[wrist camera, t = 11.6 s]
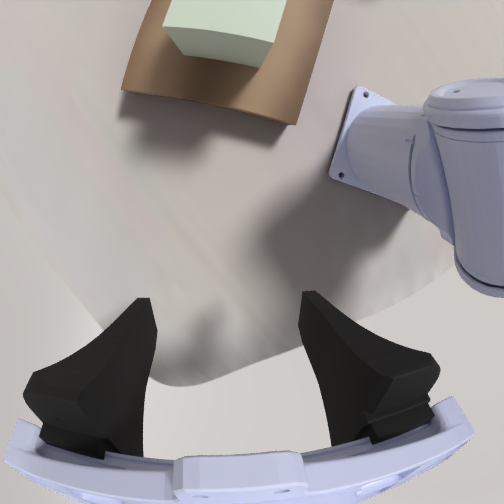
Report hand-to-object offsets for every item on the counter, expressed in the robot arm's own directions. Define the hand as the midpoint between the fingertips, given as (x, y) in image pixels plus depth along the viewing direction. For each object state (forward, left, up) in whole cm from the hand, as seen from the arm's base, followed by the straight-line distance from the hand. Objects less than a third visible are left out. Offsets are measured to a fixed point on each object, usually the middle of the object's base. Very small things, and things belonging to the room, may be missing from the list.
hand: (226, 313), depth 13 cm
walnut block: (+4, -15, -11) cm, 19 cm away
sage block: (+3, -15, -8) cm, 17 cm away
